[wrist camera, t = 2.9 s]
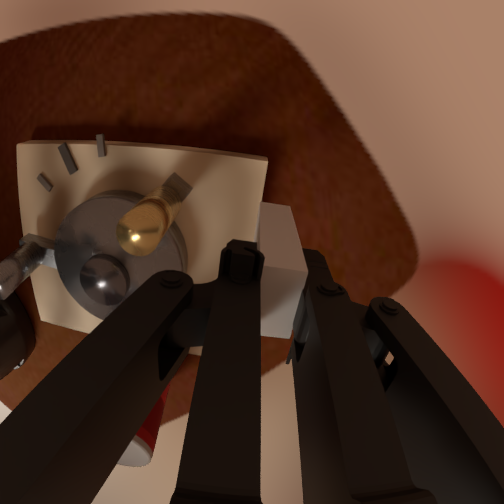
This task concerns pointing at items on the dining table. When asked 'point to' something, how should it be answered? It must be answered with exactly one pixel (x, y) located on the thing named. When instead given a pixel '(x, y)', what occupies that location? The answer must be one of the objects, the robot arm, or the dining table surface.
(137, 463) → the canned food
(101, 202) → the cam capstan
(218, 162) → the stand
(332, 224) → the dining table surface
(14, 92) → the dining table surface
